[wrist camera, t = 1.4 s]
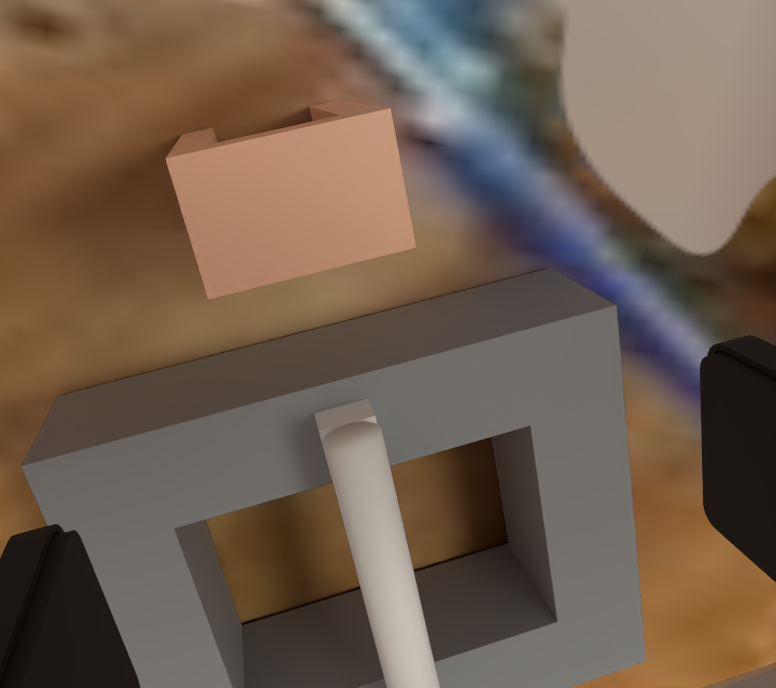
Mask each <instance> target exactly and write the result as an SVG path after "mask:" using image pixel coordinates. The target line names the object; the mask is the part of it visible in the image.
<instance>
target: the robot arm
mask: <svg viewBox="0 0 776 688" xmlns="http://www.w3.org/2000/svg"><path fill="white" fill-rule="evenodd" d="M700 388H701V431H702V475H703V505H704V510H705V513H706V516H707V518H708V520H709V521H710V523H711V524H712V526H713V527H714V528H715V529H716V530H717V531H719V532H720V533H721V534H722V535H723V536H724V537H725V538H726V539H728V540H729V541H730V542H731V543H732V544H733V545H734V546H735V547H737V548H738V549H739V550H740V551H741V552H742V553H743V554H744V555H746V556H747V557H748V558H749V559H750V560H751V561H752V562H753V563H755V564H756V565H757V566H758V567H759V568H760V569H761V570H762V571H764V572H765V573H766V574H767V575H768V576H769V577H770V578H771V579H773V580H774V581H775V582H776V346H774V345H772V344H770V343H768V342H766V341H764V340H761V339H759V338H757V337H755V336H751V335H748V336H744V337H740V338H737V339H733V340H729V341H726V342H722V343H718V344H715V345H713V346H712V347H711V348H710V349H709V352H708V356H706V357H704V358H703V359H702V361H701V364H700ZM0 688H140V684H139V680H138V677H137V674H136V672H135V669H134V667H133V664H132V662H131V659H130V657H129V654H128V652H127V650H126V647H125V645H124V642H123V640H122V637H121V635H120V632H119V630H118V627H117V625H116V623H115V620H114V618H113V615H112V613H111V610H110V608H109V605H108V603H107V600H106V598H105V596H104V593H103V591H102V588H101V586H100V583H99V581H98V578H97V576H96V573H95V571H94V568H93V566H92V564H91V561H90V559H89V556H88V554H87V551H86V549H85V546H84V544H83V541H82V539H81V537H80V535H79V534H78V532H77V531H75V530H71V531H68V532H64V530H63V529H62V528H61V526H60V525H58V524H53V525H49V526H46V527H42V528H38V529H35V530H31V531H27V532H24V533H20V534H16V535H13V536H11V537H10V539H9V540H8V542H7V545H6V547H5V549H4V551H3V554H2V556H1V558H0ZM702 688H776V663H773V664H770V665H767V666H764V667H761V668H758V669H755V670H752V671H749V672H746V673H743V674H740V675H737V676H734V677H732V678H729V679H726V680H723V681H720V682H717V683H714V684H711V685H708V686H705V687H702Z"/></svg>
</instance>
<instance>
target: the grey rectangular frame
mask: <svg viewBox="0 0 776 688" xmlns="http://www.w3.org/2000/svg"><path fill="white" fill-rule="evenodd" d="M489 437H491V439H492V445H493V451H494V458H495V464H496V470H497V476H498V482H499V488H500V494H501V501H502V507H503V513H504V519H505V525H506V531H507V537H508V543H507V544H504V545H501V546H497V547H494V548H491V549H488V550H484V551H481V552H478V553H475V554H472V555H468V556H465V557H462V558H459V559H455V560H452V561H449V562H446V563H443V564H439V565H436V566H433V567H430V568H426V569H423V570H420V571H417V572H414V571H413V566H412V562H411V558H410V553H409V549H408V544H407V540H406V535H405V531H404V527H403V522H402V518H401V513H400V509H399V505H398V500H397V496H396V491H395V487H394V482H393V478H392V474H391V469H390V466H392V465H396V464H399V463H403V462H406V461H409V460H413V459H416V458H420V457H423V456H427V455H430V454H434V453H437V452H441V451H444V450H448V449H451V448H454V447H458V446H461V445H465V444H468V443H472V442H475V441H479V440H482V439H486V438H489ZM21 468H22V470H23V472H24V474H25V476H26V479H27V481H28V483H29V485H30V488H31V490H32V492H33V494H34V497H35V499H36V501H37V503H38V506H39V508H40V510H41V512H42V515H43V517H44V519H45V521H46V524H47V526H49V525H53V524H58V525H60V526H61V528H62V529H63V530H64V532H68V531H71V530H75V531H77V532H78V534H79V535H80V537H81V539H82V541H83V544H84V546H85V549H86V551H87V554H88V556H89V559H90V561H91V564H92V566H93V568H94V571H95V573H96V576H97V578H98V581H99V583H100V586H101V588H102V591H103V593H104V596H105V598H106V600H107V603H108V605H109V608H110V610H111V613H112V615H113V618H114V620H115V623H116V625H117V627H118V630H119V632H120V635H121V637H122V640H123V642H124V645H125V647H126V650H127V652H128V654H129V657H130V659H131V662H132V664H133V667H134V669H135V672H136V674H137V677H138V680H139V684H140V688H570V687H573V686H576V685H579V684H582V683H584V682H587V681H590V680H593V679H596V678H599V677H602V676H605V675H608V674H611V673H614V672H617V671H620V670H623V669H626V668H628V667H631V666H634V665H637V664H640V663H643V662H646V656H645V644H644V632H643V619H642V607H641V595H640V583H639V571H638V559H637V547H636V535H635V523H634V510H633V498H632V486H631V474H630V462H629V450H628V438H627V426H626V414H625V401H624V389H623V377H622V365H621V353H620V341H619V329H618V317H617V305H615V304H614V303H612V302H610V301H608V300H607V299H605V298H603V297H601V296H599V295H598V294H596V293H594V292H592V291H591V290H589V289H587V288H585V287H584V286H582V285H580V284H578V283H576V282H575V281H573V280H571V279H569V278H568V277H566V276H564V275H562V274H561V273H559V272H557V271H555V270H553V269H552V268H548V269H544V270H540V271H537V272H533V273H529V274H525V275H521V276H517V277H514V278H510V279H506V280H502V281H498V282H494V283H490V284H487V285H483V286H479V287H475V288H471V289H467V290H464V291H460V292H456V293H452V294H448V295H444V296H441V297H437V298H433V299H429V300H425V301H421V302H417V303H414V304H410V305H406V306H402V307H398V308H394V309H391V310H387V311H383V312H379V313H375V314H371V315H367V316H364V317H360V318H356V319H352V320H348V321H344V322H341V323H337V324H333V325H329V326H325V327H321V328H318V329H314V330H310V331H306V332H302V333H298V334H294V335H291V336H287V337H283V338H279V339H275V340H271V341H268V342H264V343H260V344H256V345H252V346H248V347H245V348H241V349H237V350H233V351H229V352H225V353H221V354H218V355H214V356H210V357H206V358H202V359H198V360H195V361H191V362H187V363H183V364H179V365H175V366H171V367H168V368H164V369H160V370H156V371H152V372H148V373H145V374H141V375H137V376H133V377H129V378H125V379H122V380H118V381H114V382H110V383H106V384H102V385H98V386H95V387H91V388H87V389H83V390H79V391H75V392H72V393H68V394H64V395H60V396H57V397H56V399H55V401H54V403H53V405H52V407H51V409H50V411H49V413H48V415H47V417H46V419H45V421H44V423H43V425H42V427H41V428H40V430H39V432H38V434H37V436H36V438H35V440H34V442H33V444H32V446H31V448H30V450H29V452H28V454H27V456H26V458H25V459H24V461H23V463H22V465H21ZM330 483H333V484H334V488H335V492H336V496H337V500H338V504H339V507H340V511H341V515H342V519H343V523H344V526H345V530H346V534H347V538H348V542H349V545H350V549H351V553H352V557H353V561H354V564H355V568H356V572H357V576H358V580H359V584H360V587H361V589H359V590H355V591H352V592H349V593H346V594H342V595H339V596H336V597H333V598H329V599H326V600H323V601H320V602H317V603H313V604H310V605H307V606H304V607H300V608H297V609H294V610H291V611H288V612H284V613H281V614H278V615H275V616H271V617H268V618H265V619H262V620H258V621H255V622H252V623H249V624H246V625H242V624H241V621H240V619H239V616H238V613H237V610H236V607H235V604H234V601H233V598H232V596H231V593H230V590H229V587H228V584H227V581H226V578H225V575H224V572H223V570H222V567H221V564H220V561H219V558H218V555H217V552H216V549H215V547H214V544H213V541H212V538H211V535H210V532H209V529H208V526H207V524H206V521H205V519H209V518H212V517H216V516H219V515H223V514H226V513H229V512H233V511H236V510H240V509H243V508H247V507H250V506H254V505H257V504H261V503H264V502H268V501H271V500H274V499H278V498H281V497H285V496H288V495H292V494H295V493H299V492H302V491H306V490H309V489H313V488H316V487H319V486H323V485H326V484H330Z"/></svg>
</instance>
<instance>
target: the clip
mask: <svg viewBox="0 0 776 688" xmlns="http://www.w3.org/2000/svg"><path fill="white" fill-rule="evenodd" d="M309 108H310V112H311V117H312V122H307V123H303V124H298V125H294V126H289V127H285V128H280V129H276V130H272V131H267V132H263V133H258V134H254V135H249V136H245V137H240V138H236V139H231V140H227V141H222V142H218V143H217V139H216V136H215V132H214V128H209V129H204V130H199V131H195V132H190V133H186V134H182V135H181V137H180V138H179V140H178V141H177V143H176V144H175V145H174V147H173V148H172V150H171V151H170V153H169V154H168V155H167V157H166V158H165V159H166V162H167V166H168V169H169V172H170V175H171V179H172V182H173V185H174V189H175V192H176V195H177V198H178V202H179V205H180V208H181V212H182V215H183V218H184V221H185V225H186V228H187V231H188V235H189V238H190V241H191V244H192V248H193V251H194V254H195V258H196V261H197V264H198V267H199V271H200V274H201V277H202V281H203V284H204V287H205V290H206V294H207V297H208V300H209V299H213V298H217V297H221V296H225V295H229V294H233V293H237V292H241V291H245V290H249V289H253V288H257V287H261V286H265V285H269V284H273V283H277V282H281V281H285V280H289V279H293V278H297V277H301V276H305V275H309V274H313V273H317V272H321V271H325V270H329V269H333V268H337V267H341V266H345V265H349V264H353V263H357V262H361V261H365V260H369V259H373V258H377V257H381V256H385V255H389V254H393V253H397V252H401V251H405V250H409V249H413V248H416V243H415V237H414V232H413V226H412V221H411V216H410V210H409V205H408V200H407V194H406V189H405V183H404V178H403V173H402V167H401V162H400V156H399V151H398V146H397V140H396V135H395V130H394V124H393V119H392V113H391V108H386V107H380V106H374V105H367V104H361V103H355V102H349V101H343V100H336V101H331V102H327V103H322V104H318V105H313V106H309Z"/></svg>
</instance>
